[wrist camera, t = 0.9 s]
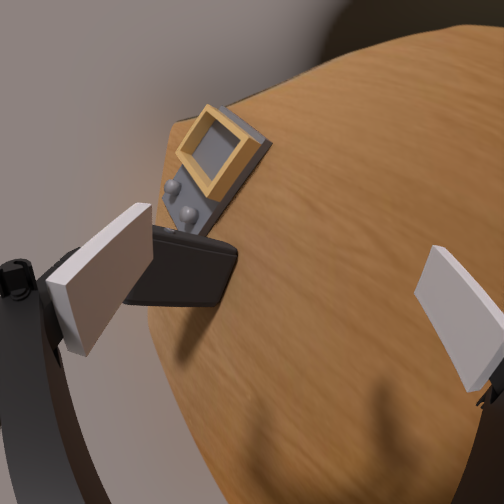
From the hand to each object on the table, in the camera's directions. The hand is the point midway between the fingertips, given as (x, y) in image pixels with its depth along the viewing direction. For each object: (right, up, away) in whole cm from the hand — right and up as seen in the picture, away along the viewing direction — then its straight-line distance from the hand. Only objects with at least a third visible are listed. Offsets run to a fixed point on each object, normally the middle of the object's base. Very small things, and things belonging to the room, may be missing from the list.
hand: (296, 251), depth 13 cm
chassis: (-8, +12, +34) cm, 37 cm away
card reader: (-6, -3, +29) cm, 30 cm away
